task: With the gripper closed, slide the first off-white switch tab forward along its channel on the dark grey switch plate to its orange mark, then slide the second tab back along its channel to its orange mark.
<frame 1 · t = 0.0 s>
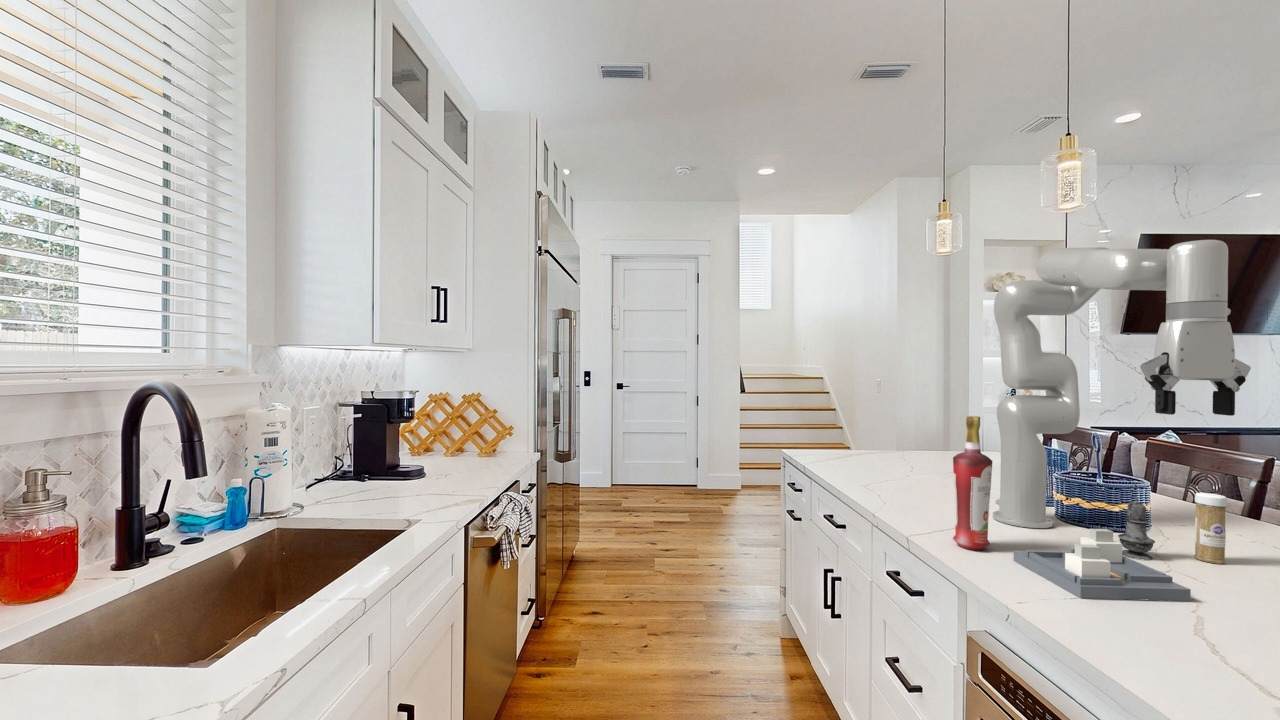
hand: (1194, 414, 97), 31 cm above the worktop, tool pointing down, fingers open, 9 cm apart
liquor: (971, 547, 122), on the worktop
tab 1: (1101, 544, 109), point 5 cm above the worktop, slide at 0.0 cm
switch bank: (1094, 579, 104), on the worktop
grey bust statue: (1135, 556, 118), on the worktop
tab 2: (1087, 561, 99), point 5 cm above the worktop, slide at 0.0 cm
sprinkles bottle: (1209, 561, 115), on the worktop
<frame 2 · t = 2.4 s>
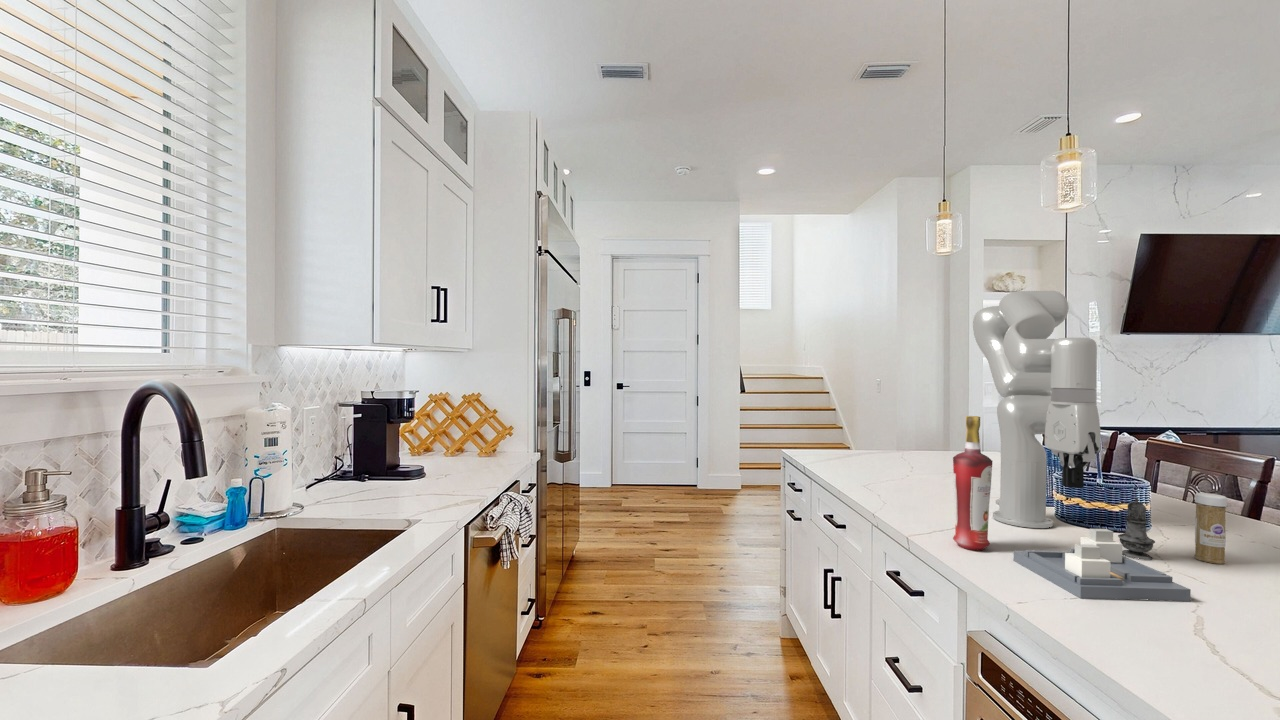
hand: (1072, 486, 117), 14 cm above the worktop, tool pointing down, fingers closed
nothing on the worktop moved.
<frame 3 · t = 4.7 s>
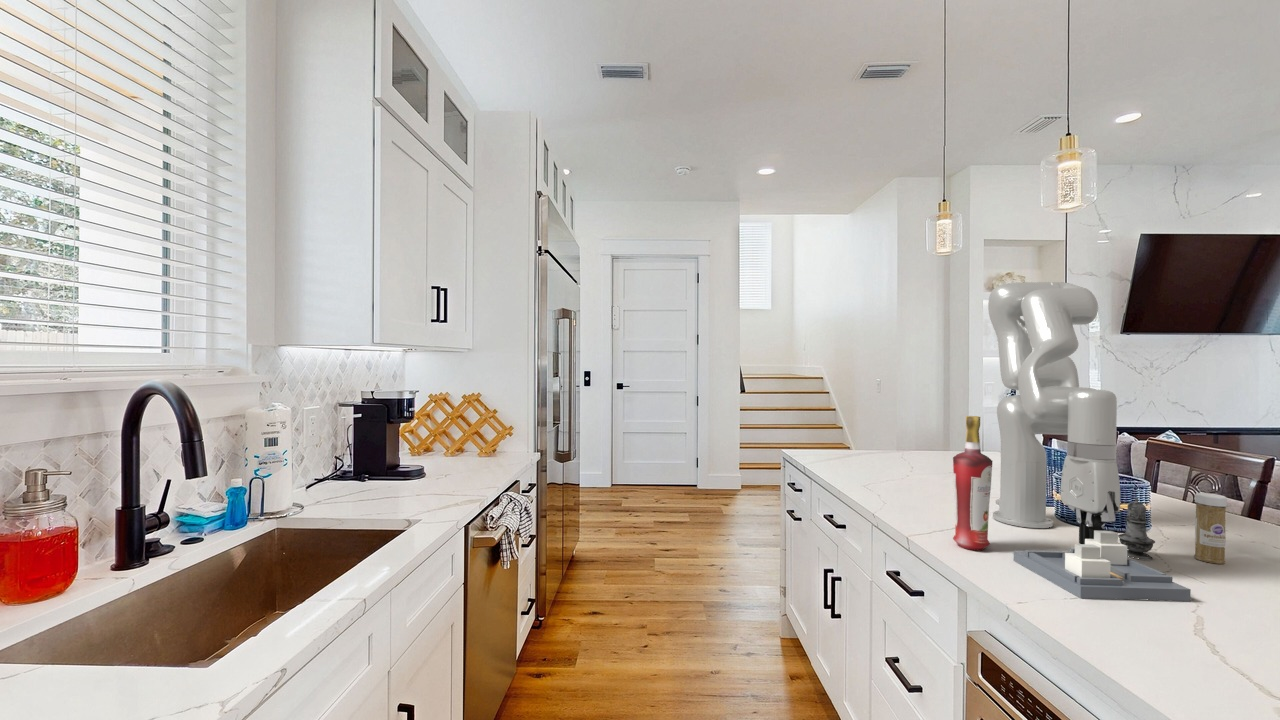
hand: (1090, 545, 112), 4 cm above the worktop, tool pointing down, fingers closed
tab 1: (1105, 546, 108), point 5 cm above the worktop, slide at 1.1 cm, touching gripper
everything else where it was.
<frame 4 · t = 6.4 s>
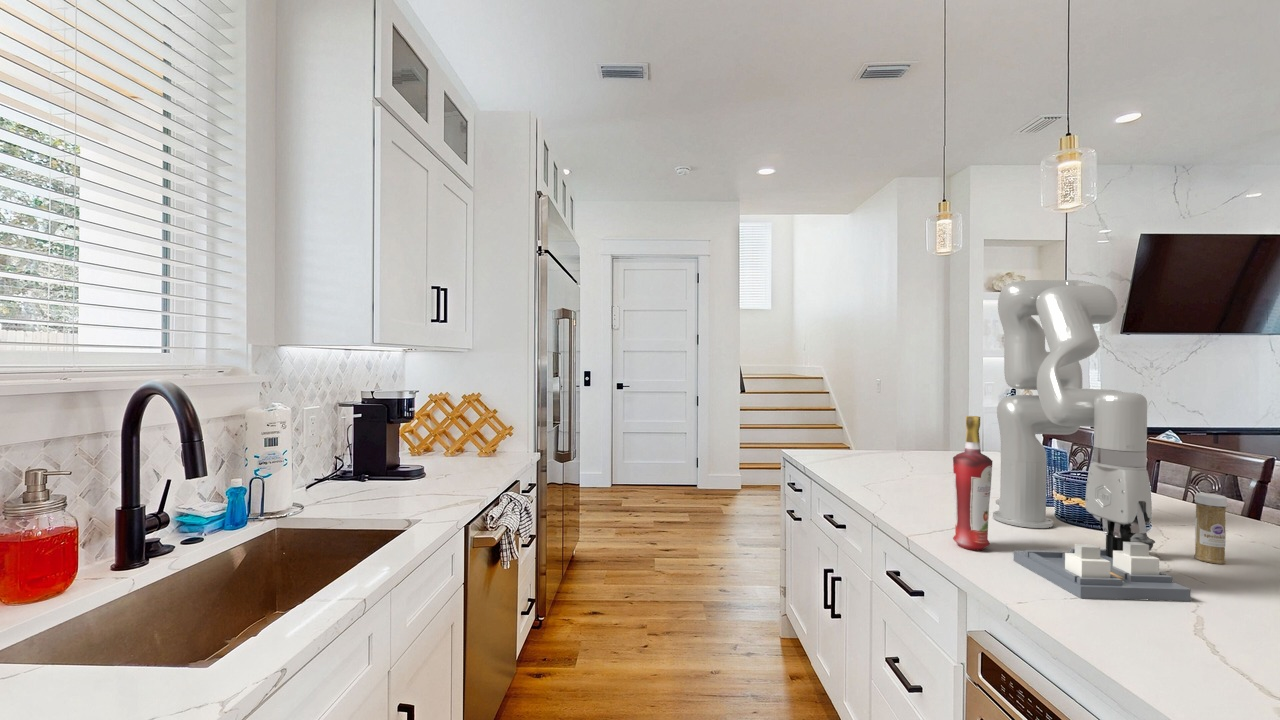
hand: (1117, 557, 105), 4 cm above the worktop, tool pointing down, fingers closed
tab 1: (1135, 558, 101), point 5 cm above the worktop, slide at 7.9 cm, touching gripper
everything else where it was.
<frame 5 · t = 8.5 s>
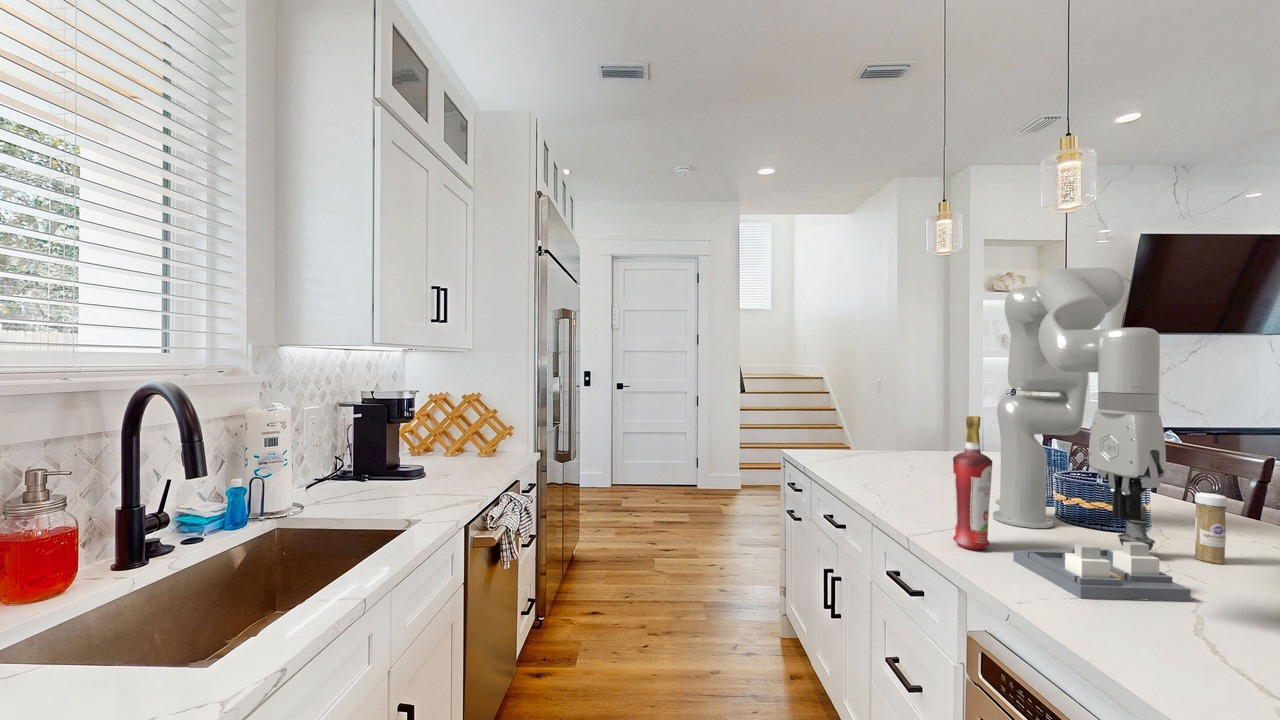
hand: (1126, 518, 91), 15 cm above the worktop, tool pointing down, fingers closed
tab 1: (1135, 558, 101), point 5 cm above the worktop, slide at 7.9 cm
everything else where it was.
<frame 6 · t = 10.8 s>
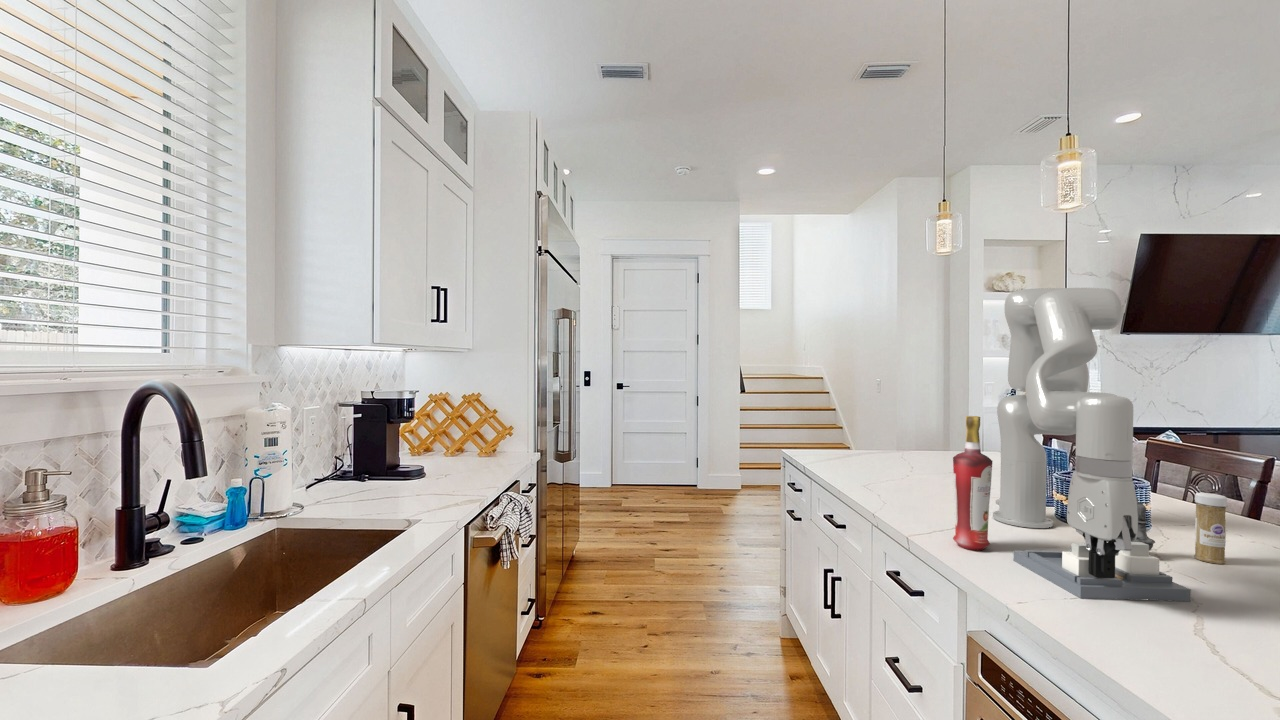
hand: (1101, 576, 96), 4 cm above the worktop, tool pointing down, fingers closed
tab 2: (1084, 560, 100), point 5 cm above the worktop, slide at 0.7 cm, touching gripper
everything else where it was.
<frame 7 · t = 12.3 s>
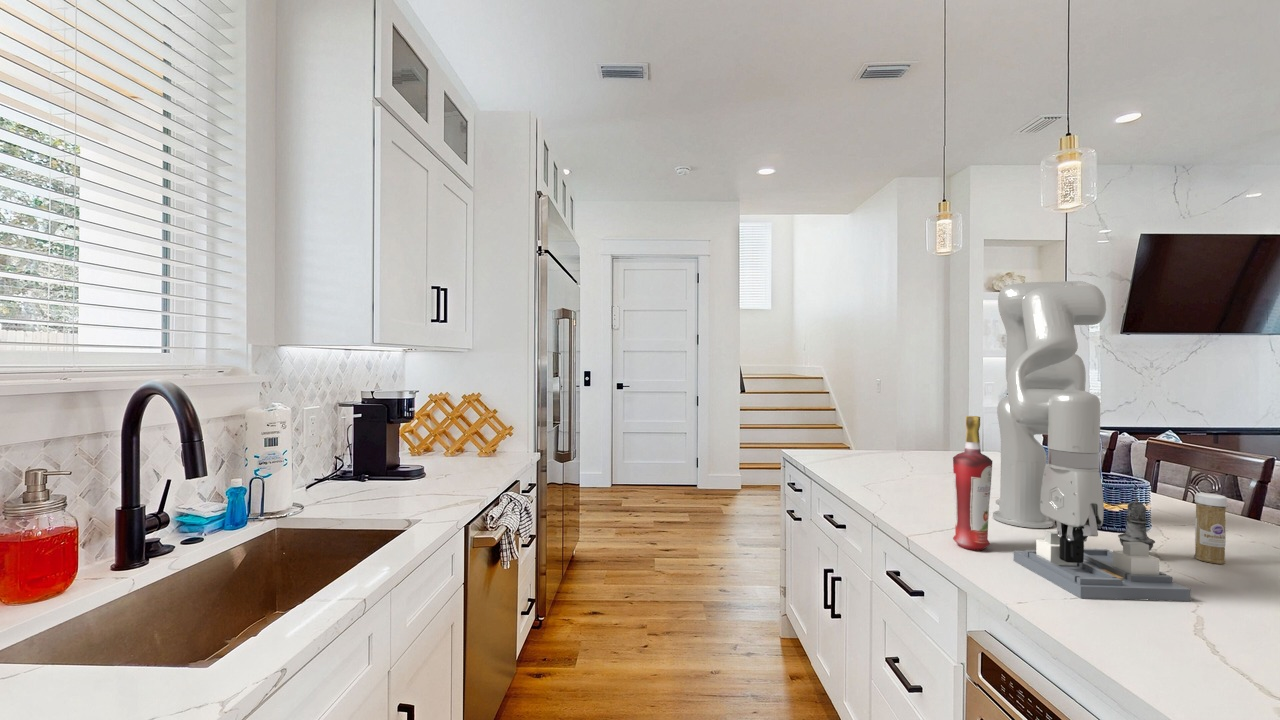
hand: (1071, 560, 103), 4 cm above the worktop, tool pointing down, fingers closed
tab 2: (1056, 547, 107), point 5 cm above the worktop, slide at 7.7 cm, touching gripper
everything else where it was.
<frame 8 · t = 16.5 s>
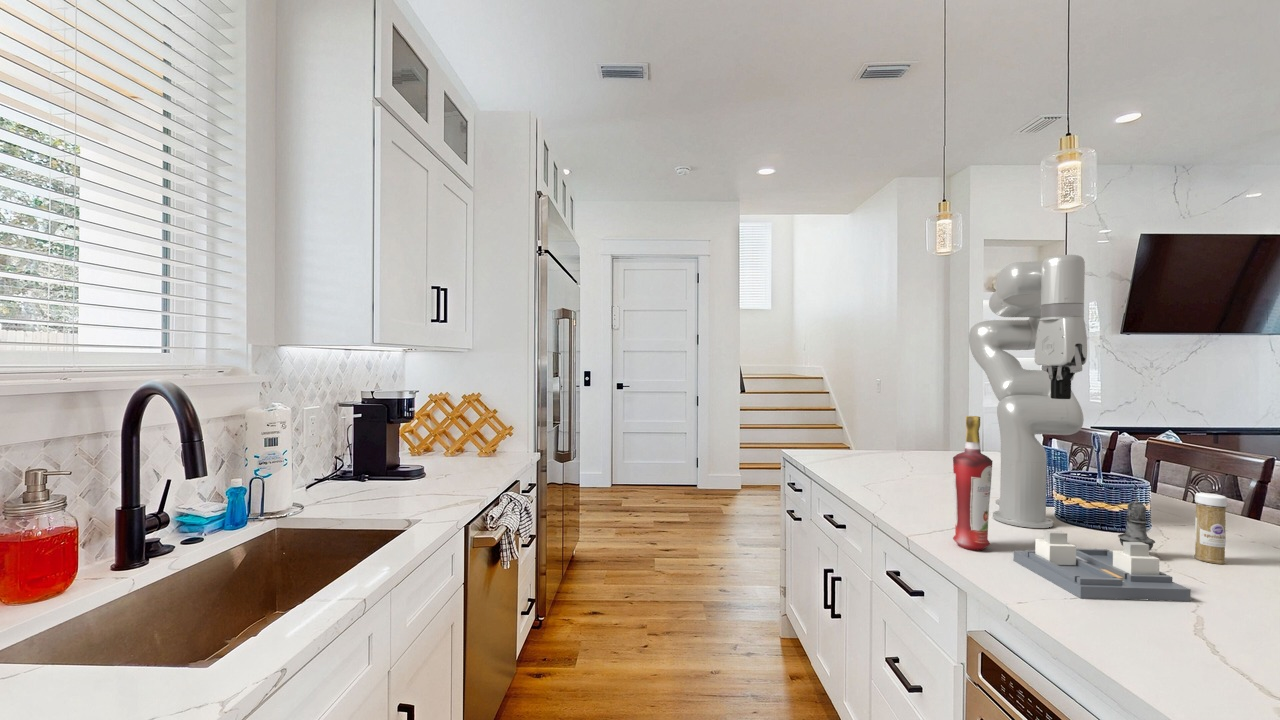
hand: (1060, 398, 122), 32 cm above the worktop, tool pointing down, fingers closed
tab 2: (1055, 546, 107), point 5 cm above the worktop, slide at 8.0 cm
everything else where it was.
at the end: tab 1 slide at 7.9 cm; tab 2 slide at 8.0 cm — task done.
